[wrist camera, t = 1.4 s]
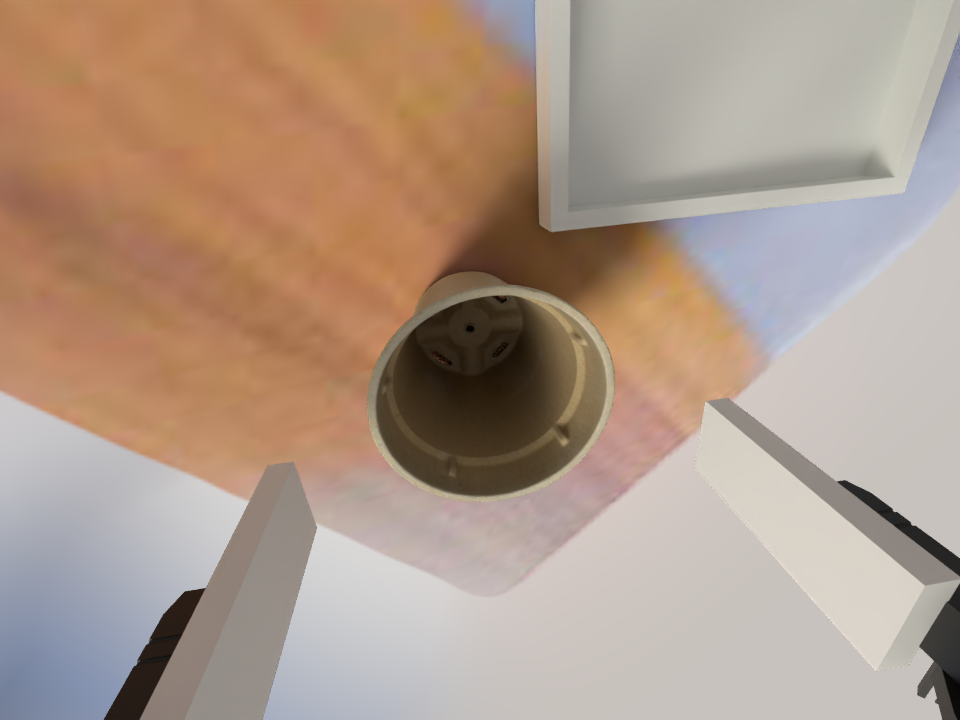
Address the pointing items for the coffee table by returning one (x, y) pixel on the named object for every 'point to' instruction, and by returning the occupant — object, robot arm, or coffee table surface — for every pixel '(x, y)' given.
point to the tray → (730, 103)
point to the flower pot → (490, 390)
